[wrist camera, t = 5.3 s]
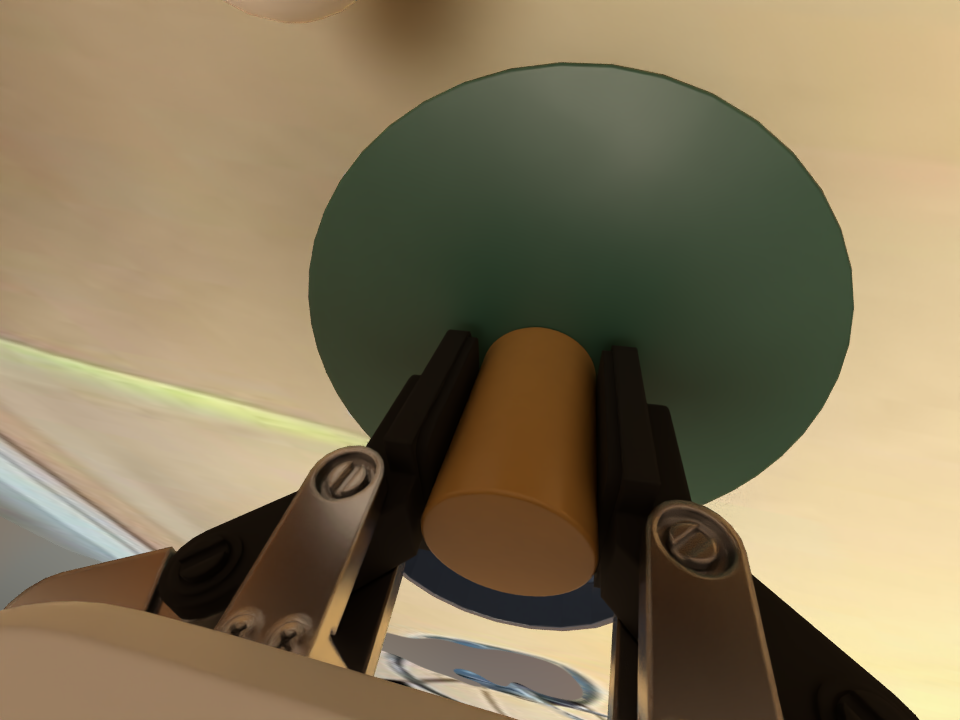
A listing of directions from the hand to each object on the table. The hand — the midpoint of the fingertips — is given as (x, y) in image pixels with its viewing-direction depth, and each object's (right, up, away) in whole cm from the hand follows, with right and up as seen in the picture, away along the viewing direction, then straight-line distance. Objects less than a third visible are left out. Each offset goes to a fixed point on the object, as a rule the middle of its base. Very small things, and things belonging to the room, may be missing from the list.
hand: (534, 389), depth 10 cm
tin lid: (0, +1, +1) cm, 1 cm away
